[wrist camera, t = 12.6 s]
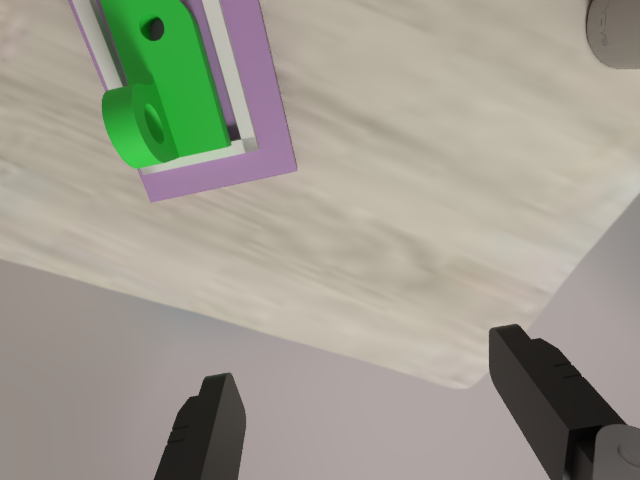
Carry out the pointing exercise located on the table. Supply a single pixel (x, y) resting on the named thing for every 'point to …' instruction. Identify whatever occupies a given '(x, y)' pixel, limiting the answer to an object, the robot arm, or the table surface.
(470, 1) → the table surface
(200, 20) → the door panel
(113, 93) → the mechanical part
